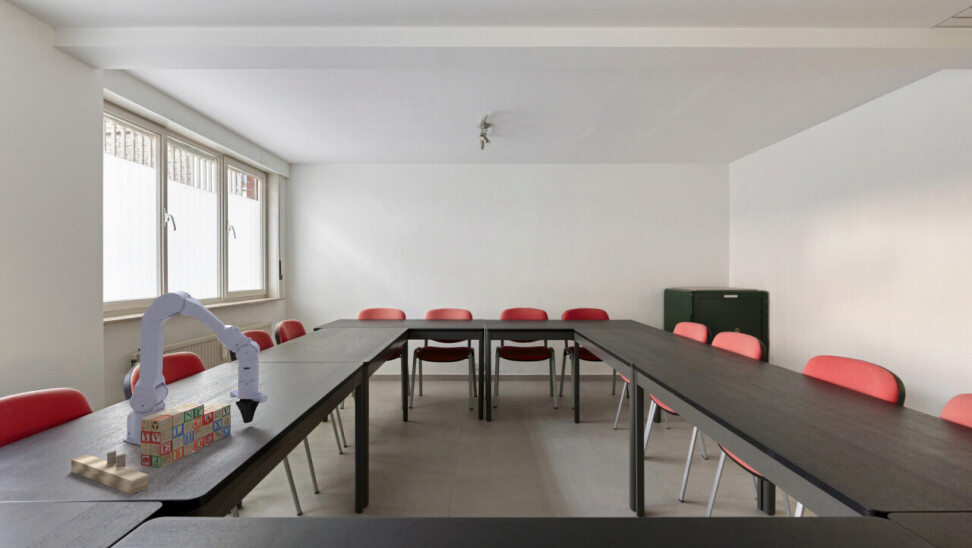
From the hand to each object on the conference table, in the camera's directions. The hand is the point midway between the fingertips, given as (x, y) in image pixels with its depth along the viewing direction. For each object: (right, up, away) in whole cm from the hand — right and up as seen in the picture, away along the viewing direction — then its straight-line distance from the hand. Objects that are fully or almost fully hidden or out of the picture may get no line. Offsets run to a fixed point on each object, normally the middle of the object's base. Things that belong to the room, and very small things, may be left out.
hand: (248, 422), depth 125 cm
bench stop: (-13, -1, -32) cm, 35 cm away
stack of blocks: (-7, -2, -16) cm, 17 cm away
